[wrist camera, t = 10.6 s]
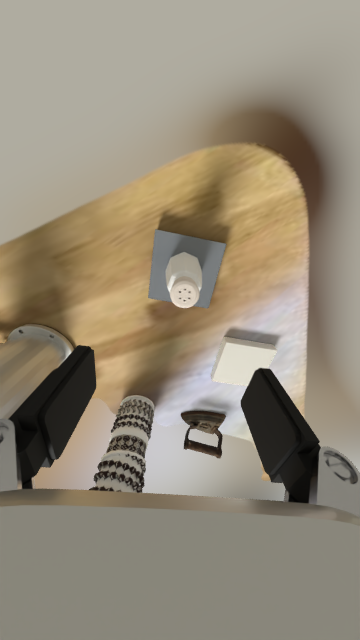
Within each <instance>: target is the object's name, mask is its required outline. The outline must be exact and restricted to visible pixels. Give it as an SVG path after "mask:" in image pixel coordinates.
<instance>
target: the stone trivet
mask: <svg viewBox="0 0 360 640" xmlns="http://www.w3.org/2000/svg"><path fill="white" fill-rule="evenodd" d="M276 352H277V349H276V348H275V347H274V346H273V344H267V343H260V342H254V341H248V340H242V339H236V338H230V337H224V338H223V341H222V343H221V346H220V349H219V352H218V355H217V358H216V360H215V363H214V366H213V369H212V372H211V379H212V381H214V382H221V383H228V384H235V385H242V386H248V385H249V382H250V380H251V378H252V376H253V374H254V372H255V370H258V368H267V369H268V367H269V365H270V363H271V361H272V360H273V358H274V356H275V354H276Z"/></svg>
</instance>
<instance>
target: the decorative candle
mask: <svg viewBox="0 0 360 640" xmlns="http://www.w3.org/2000/svg"><path fill="white" fill-rule="evenodd" d="M120 407H121V408H120V409H118V410H119V411H118V415H116V417H117V419H116V420H115V422H114V426H113V429H112V430H111V433H112V434H111V437H110V440H109V447H108V449H107V453H106V454H104V455H103V457H102V459H101V462H100V463H99V465H98V469H99V471H100V472H99V473H96V474H95V476H94V481H95V482H96V486H95V487H93V488H91V489H89V490H95V491H114V492H134V493H142V488H143V487H144V477H143V476H144V473H145V470H146V468H145V466H146V461H145V460H144V458H145V451H146V449H147V445H148V440H149V439H150V433H151V432H150V431H151V430H152V429H151V427H152V423H153V417H154V407H155V406H154V404H153V402H152V401H151V400H150V399H148V398H146V397H144V396H140V395H132V396H128V397H126V398H124V399H123V401H122V402H121V406H120ZM139 484H141V485H139Z"/></svg>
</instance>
